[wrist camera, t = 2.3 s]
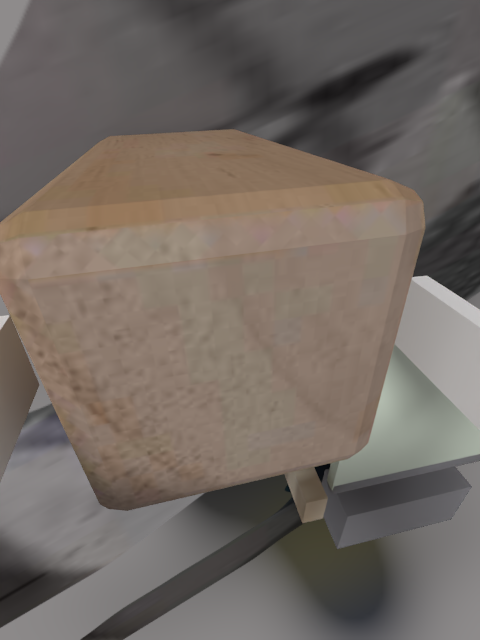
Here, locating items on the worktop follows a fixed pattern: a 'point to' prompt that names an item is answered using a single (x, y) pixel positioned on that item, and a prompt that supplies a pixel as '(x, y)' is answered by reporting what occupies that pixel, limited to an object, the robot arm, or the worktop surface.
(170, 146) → the wooden block
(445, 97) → the worktop surface
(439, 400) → the trapdoor
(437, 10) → the worktop surface
